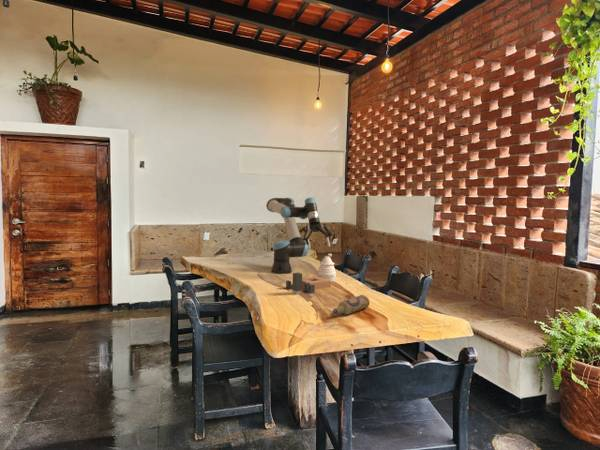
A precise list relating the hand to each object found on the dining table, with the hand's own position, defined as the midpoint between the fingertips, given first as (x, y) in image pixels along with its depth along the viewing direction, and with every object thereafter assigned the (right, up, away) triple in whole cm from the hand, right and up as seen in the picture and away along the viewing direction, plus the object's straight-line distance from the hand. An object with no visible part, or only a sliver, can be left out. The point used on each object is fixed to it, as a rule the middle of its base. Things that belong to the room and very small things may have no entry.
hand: (319, 247), depth 255 cm
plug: (-15, -25, -33) cm, 44 cm away
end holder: (-5, -23, -14) cm, 28 cm away
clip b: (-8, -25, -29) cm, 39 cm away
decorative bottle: (+11, -28, -66) cm, 72 cm away
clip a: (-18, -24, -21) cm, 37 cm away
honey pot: (+5, -22, +4) cm, 23 cm away
